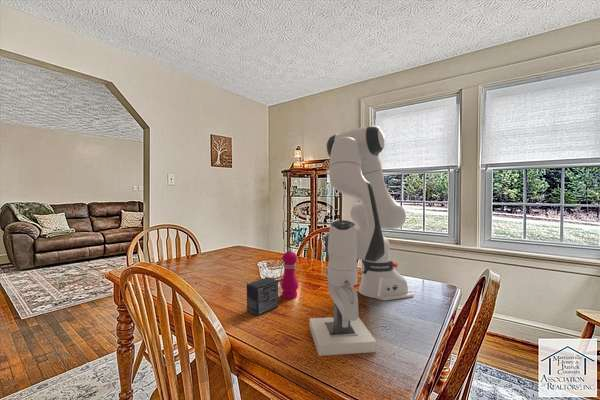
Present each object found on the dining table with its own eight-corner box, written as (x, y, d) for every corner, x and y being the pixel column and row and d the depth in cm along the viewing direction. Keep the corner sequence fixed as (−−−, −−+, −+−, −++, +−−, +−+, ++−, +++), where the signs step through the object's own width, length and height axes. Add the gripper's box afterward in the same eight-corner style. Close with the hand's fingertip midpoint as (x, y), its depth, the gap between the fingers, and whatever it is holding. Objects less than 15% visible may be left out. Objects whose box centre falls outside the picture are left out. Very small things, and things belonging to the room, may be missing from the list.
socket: (357, 324, 97) (357, 315, 97) (376, 352, 81) (376, 340, 81) (309, 327, 95) (309, 317, 95) (318, 355, 79) (318, 343, 79)
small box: (266, 302, 115) (266, 276, 115) (279, 307, 111) (279, 279, 111) (245, 311, 107) (245, 283, 107) (258, 316, 103) (258, 287, 103)
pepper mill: (296, 300, 118) (296, 250, 117) (278, 298, 120) (278, 249, 119) (299, 293, 125) (300, 246, 124) (283, 292, 127) (283, 246, 126)
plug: (346, 331, 91) (346, 303, 90) (349, 338, 87) (350, 308, 86) (333, 332, 90) (333, 303, 90) (336, 339, 86) (336, 309, 86)
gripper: (364, 287, 78) (364, 339, 78) (343, 266, 98) (343, 307, 99) (341, 288, 77) (340, 340, 78) (325, 267, 97) (324, 308, 98)
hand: (342, 322), depth 88 cm, fingers closed on plug, 4 cm apart
